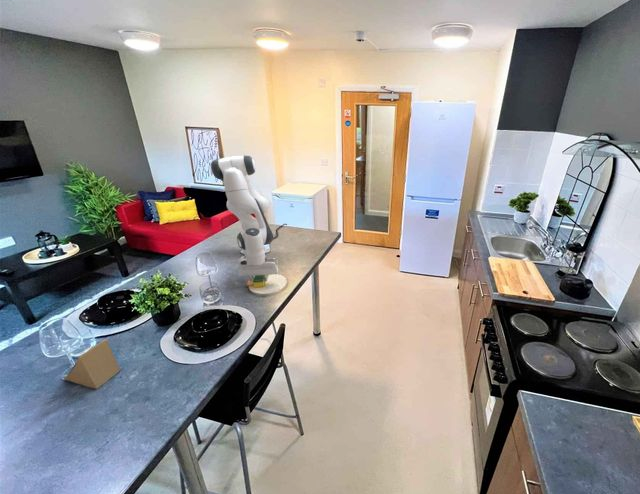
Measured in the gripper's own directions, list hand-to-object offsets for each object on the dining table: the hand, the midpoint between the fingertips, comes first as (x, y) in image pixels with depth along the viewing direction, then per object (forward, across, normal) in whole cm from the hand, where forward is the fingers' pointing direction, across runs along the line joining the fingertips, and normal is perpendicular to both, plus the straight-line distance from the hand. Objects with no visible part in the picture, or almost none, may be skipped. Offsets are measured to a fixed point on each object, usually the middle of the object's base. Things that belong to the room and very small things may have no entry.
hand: (260, 281), depth 157 cm
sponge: (+2, 0, 0) cm, 2 cm away
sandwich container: (+3, +48, +54) cm, 72 cm away
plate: (+3, -4, 0) cm, 5 cm away
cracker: (+2, +5, 0) cm, 5 cm away
